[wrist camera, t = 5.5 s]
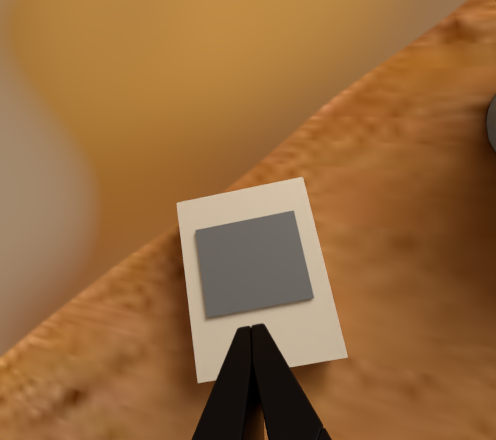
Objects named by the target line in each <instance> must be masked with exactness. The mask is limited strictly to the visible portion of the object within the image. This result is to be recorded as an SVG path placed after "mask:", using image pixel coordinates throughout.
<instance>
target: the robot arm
mask: <svg viewBox="0 0 496 440" xmlns="http://www.w3.org/2000/svg"><path fill="white" fill-rule="evenodd" d="M264 421H265V425H266V430H267V435H268V440H332V439H331V438H330V436H329V434H328V432H327V431H326V429H325V428H323V424H322V422H321V421H320V419H319V417H318V415H317V414H316V412H315V410H314V409H313V407H312V405H311V403H310V402H309V400H308V398H307V396H306V395H305V393H304V391H303V390H302V388H301V386H300V384H299V383H298V381H297V379H296V377H295V376H294V374H293V372H292V371H291V369H290V367H289V365H288V364H287V362H286V360H285V358H284V357H283V355H282V353H281V352H280V350H279V348H278V346H277V345H276V343H275V341H274V339H273V338H272V336H271V334H270V333H269V331H268V329H267V327H266V326H265V324H264V323H260V324H255V325H252V326H243V327H239V328H238V329H237V330H236V333H235V335H234V338H233V340H232V342H231V345H230V347H229V350H228V352H227V355H226V357H225V359H224V362H223V364H222V367H221V369H220V372H219V374H218V376H217V379H216V381H215V384H214V386H213V389H212V391H211V393H210V396H209V398H208V401H207V403H206V406H205V408H204V410H203V413H202V415H201V418H200V420H199V423H198V425H197V427H196V430H195V432H194V435H193V437H192V440H264Z"/></svg>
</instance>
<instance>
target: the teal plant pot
mask: <svg viewBox="0 0 496 440" xmlns="http://www.w3.org/2000/svg"><path fill="white" fill-rule="evenodd" d="M487 132H488V139H489V141H490V143H491V145H492V146H493V148H494V150H495V152H496V95H495V97H494V98H493V100H492V102H491V104H490V106H489V109H488V113H487Z"/></svg>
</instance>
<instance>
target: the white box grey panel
mask: <svg viewBox="0 0 496 440" xmlns="http://www.w3.org/2000/svg"><path fill="white" fill-rule="evenodd" d="M177 210H178V219H179V228H180V237H181V245H182V254H183V262H184V271H185V279H186V288H187V296H188V305H189V313H190V322H191V330H192V339H193V347H194V356H195V364H196V373H197V381H198V383H202V382H208V381H214V380H216V379H217V376H218V374H219V372H220V369H221V367H222V364H223V362H224V359H225V357H226V355H227V352H228V350H229V347H230V345H231V342H232V340H233V338H234V335H235V333H236V330H237V329H238V328H239V327H243V326H252V325H255V324H260V323H264V324H265V326H266V327H267V329H268V331H269V333H270V334H271V336H272V338H273V339H274V341H275V343H276V345H277V346H278V348H279V350H280V352H281V353H282V355H283V357H284V358H285V360H286V362H287V364H288V365H289V367H295V366H301V365H307V364H313V363H318V362H324V361H330V360H336V359H342V358H347V357H348V356H347V352H346V348H345V344H344V340H343V336H342V332H341V328H340V324H339V320H338V316H337V312H336V308H335V304H334V300H333V296H332V292H331V288H330V284H329V280H328V276H327V272H326V268H325V264H324V260H323V256H322V252H321V248H320V244H319V240H318V236H317V232H316V228H315V224H314V220H313V216H312V212H311V208H310V204H309V200H308V196H307V192H306V188H305V184H304V180H303V177H300V178H295V179H290V180H285V181H280V182H275V183H271V184H266V185H261V186H256V187H251V188H246V189H241V190H237V191H232V192H227V193H222V194H217V195H213V196H208V197H203V198H198V199H193V200H188V201H184V202H179V203H177Z"/></svg>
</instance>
